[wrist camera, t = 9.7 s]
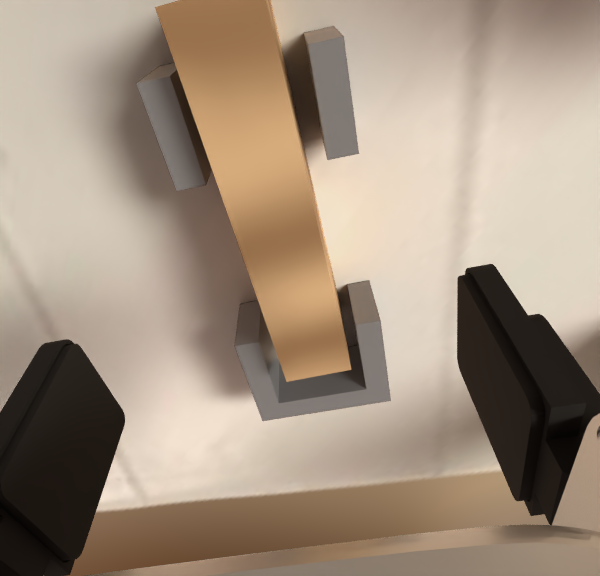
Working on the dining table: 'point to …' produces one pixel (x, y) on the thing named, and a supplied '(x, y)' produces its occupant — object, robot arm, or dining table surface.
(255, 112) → the slat
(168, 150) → the sleeve
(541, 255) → the dining table surface
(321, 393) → the grey u-channel holder
